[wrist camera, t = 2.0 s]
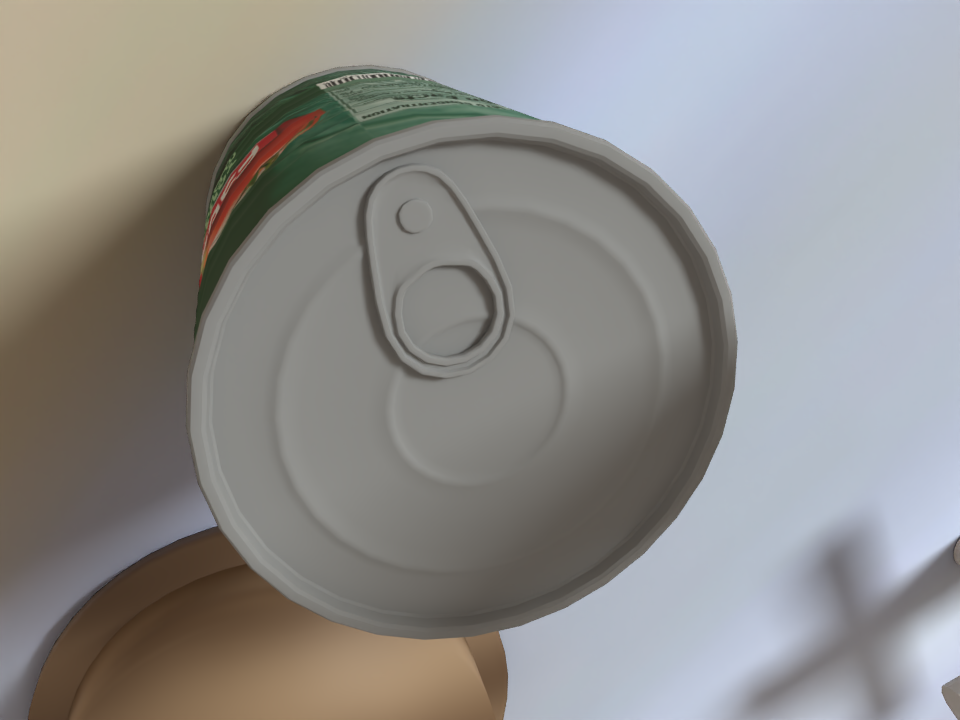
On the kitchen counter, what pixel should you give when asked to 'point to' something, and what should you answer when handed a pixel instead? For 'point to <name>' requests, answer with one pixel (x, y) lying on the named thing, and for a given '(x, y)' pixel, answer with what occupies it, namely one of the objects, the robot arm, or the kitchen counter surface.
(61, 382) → the kitchen counter surface
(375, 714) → the pedestal
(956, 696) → the pipe connector
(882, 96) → the kitchen counter surface
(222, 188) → the canned tomato
